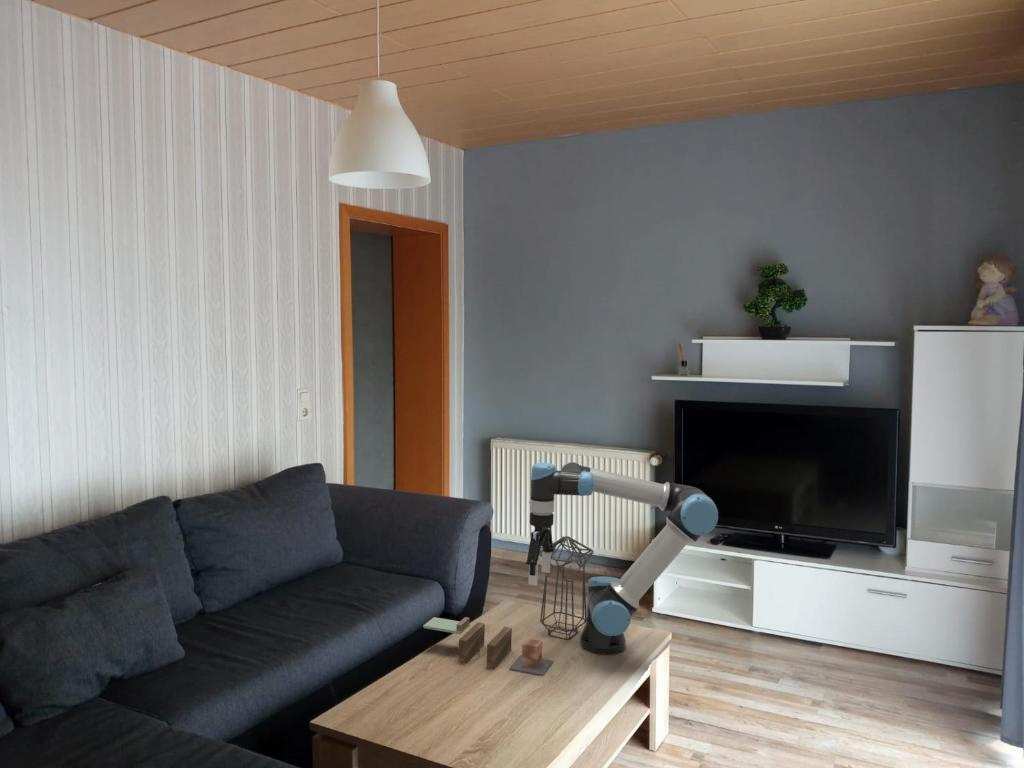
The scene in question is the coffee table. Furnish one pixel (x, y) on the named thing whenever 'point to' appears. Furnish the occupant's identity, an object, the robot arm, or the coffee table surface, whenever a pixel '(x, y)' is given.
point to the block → (532, 653)
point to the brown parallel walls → (475, 642)
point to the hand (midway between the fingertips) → (539, 578)
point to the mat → (539, 671)
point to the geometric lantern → (566, 583)
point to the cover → (448, 625)
